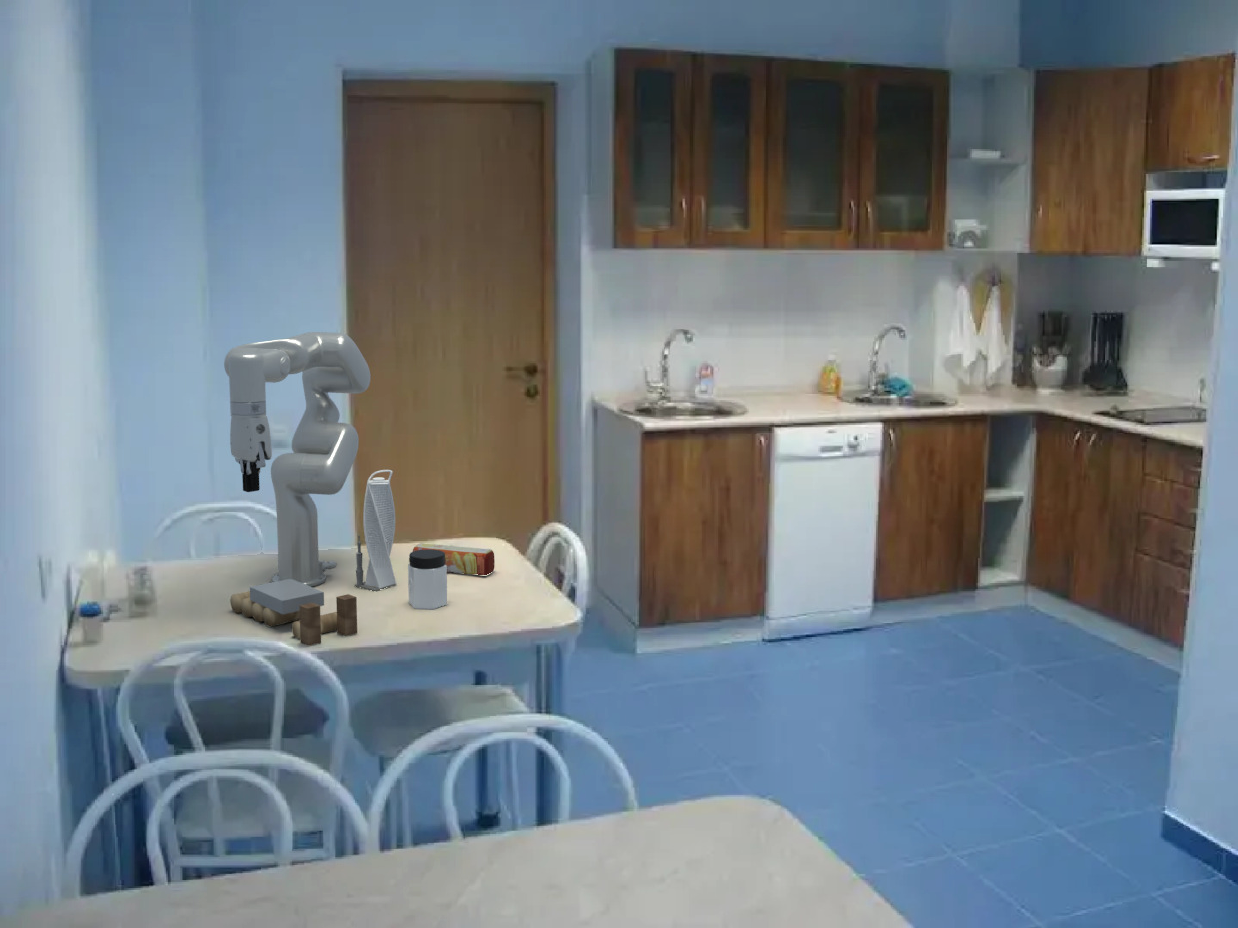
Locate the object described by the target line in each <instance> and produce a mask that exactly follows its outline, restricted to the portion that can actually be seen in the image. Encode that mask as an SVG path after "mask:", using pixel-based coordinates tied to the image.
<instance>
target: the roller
mask: <svg viewBox="0 0 1238 928" xmlns="http://www.w3.org/2000/svg"><path fill="white" fill-rule="evenodd" d="M320 619H321V635H322V634H326V633H329V632H330V633H331V632H333V631H337V611H333V612H329V613H325V614H322V615H321V614H320ZM291 631H292V634H293V636H294V638H295V639H297V640H300V620H296V621H293V622H292V625H291Z"/></svg>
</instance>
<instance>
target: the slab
mask: <svg viewBox="0 0 1238 928" xmlns="http://www.w3.org/2000/svg"><path fill="white" fill-rule="evenodd" d="M249 591H250V600H251V601H253V602H256V603H258V604H260V605H262V606H265V607H267V608H269V609H271V610H274V611H276V612H278V613H280V614H287V613H292V612H296V611H300V607H299V605H304V604H308V603H314V604H317V605H320V607H323V606H325V592H324V591H323V590H319V589H317V588H314V587H313V586H312V587H310V586H307V585H305V584H303V583H300V582H298V581H295V580H293V579H287V580H282V581H277V582H272V581H271V582H266V583H263V584H257V585H252V586H249Z"/></svg>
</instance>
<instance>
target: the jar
mask: <svg viewBox="0 0 1238 928" xmlns="http://www.w3.org/2000/svg"><path fill="white" fill-rule="evenodd" d="M412 551H413V550H412ZM412 551H411V552H410V553H409V555H408V556H409V558H408V562H409V563H408V566H407V570H408V571H407V572H408V573H407V575H408V576H407V578H408V580H407V581H408V582H407V583H408V586H407V587H408V604H409V605H410V604H411V605H410V606H411V607H412V608H413V609H415V608H416V610H417V609H419V610H420V609H421V610H435V609H439V608H441V606H442V607H443V606H444V605H445V606H447V605H448V572H447V566H446V565H445V553H444V552H443V551H440V550H431V549H426V550H417V551H413V552H412ZM446 604H447V605H446ZM438 607H439V608H438Z"/></svg>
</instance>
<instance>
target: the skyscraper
mask: <svg viewBox="0 0 1238 928" xmlns="http://www.w3.org/2000/svg"><path fill="white" fill-rule="evenodd" d="M386 472H387V473H389V477H388V479H385V477H374V476H375V475H376V474H379V473H386ZM393 473H394V472H393V470H391V469H381V470H377V471H374V472H373V473H371V475H370V476H369V477H368V479H367V481H366V482H367V483H366V489H365V495H364V504H363V514H362V515H363V516H362V517H363V520H362V521H363V532H364V533H363V535H364V540H365V545H366V550H367V553H368V558H369V559H368V564H367V565H368V566H367V570H366V576H365V581H364V569H363V552H362V550H361V549H362V547H361V544H362V542H361V537H360V534H358V535H357V536H358V538H357V540H358V541H357V543H356V544H357V552H355V556H356V570H355V575H356V584H354V587H355V586H356V587H355V588H358V587H361V588H360V589H362V588H364V589H363V590H366V589H368V591H370V590H372V591H371V592H374V591H376V592H379V591H381V590H380V589H383V590H385V589H384V588H386V587H389V588H391V587H390V586H393V587H395V585H396V586H397V582H396V577H395V573H394V569H393V565H392V560H391V557H390V556H391V553H392V550H393V549H392V548H393V544H394V540H395V531H396V508H395V503H394V502H395V501H394V496H393V492H392V487H391V478H392V477H393ZM386 589H387V588H386ZM378 590H379V591H378Z"/></svg>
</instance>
